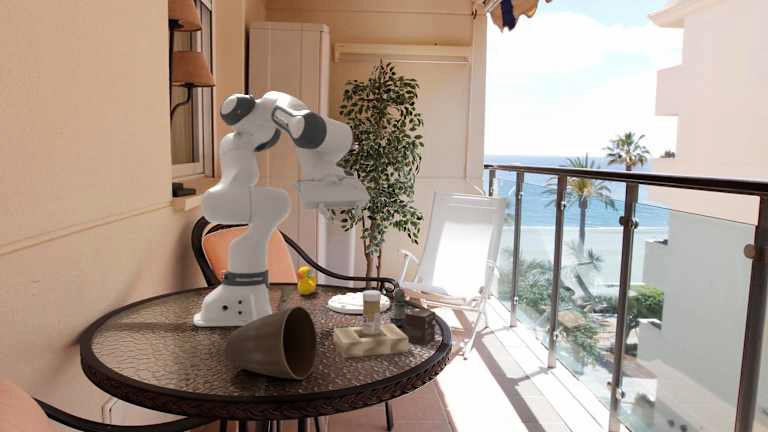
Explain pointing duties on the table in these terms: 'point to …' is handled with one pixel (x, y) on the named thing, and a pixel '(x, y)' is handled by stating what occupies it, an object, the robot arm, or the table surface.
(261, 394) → the table surface
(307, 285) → the duckling
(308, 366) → the plant pot
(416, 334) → the box
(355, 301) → the embossed medallion
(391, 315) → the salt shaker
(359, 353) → the holder
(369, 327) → the sprinkles bottle
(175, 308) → the table surface
